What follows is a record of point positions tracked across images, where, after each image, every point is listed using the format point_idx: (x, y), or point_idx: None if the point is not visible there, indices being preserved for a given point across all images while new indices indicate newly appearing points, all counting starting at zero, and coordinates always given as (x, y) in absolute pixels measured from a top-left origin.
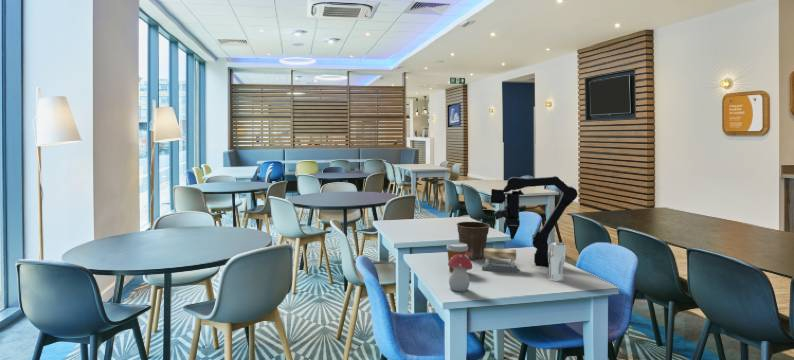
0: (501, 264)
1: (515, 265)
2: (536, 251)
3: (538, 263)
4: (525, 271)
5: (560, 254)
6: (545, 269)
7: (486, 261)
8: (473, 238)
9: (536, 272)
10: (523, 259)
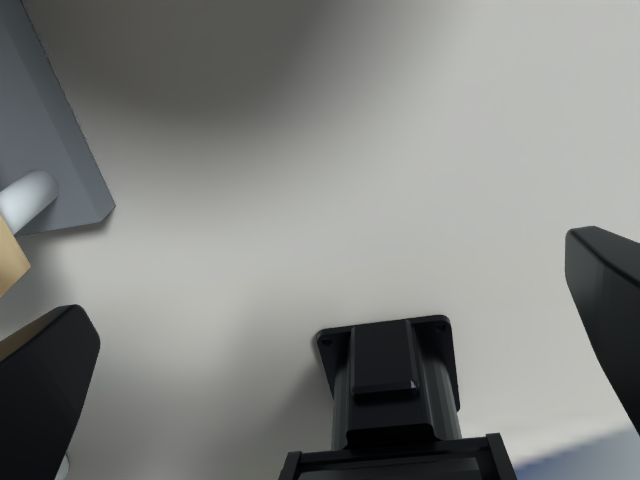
0: (2, 57)
1: (75, 210)
2: (349, 433)
3: (342, 356)
4: (70, 282)
5: None
6: (234, 394)
7: None
8: None
9: (103, 353)
10: (537, 200)
